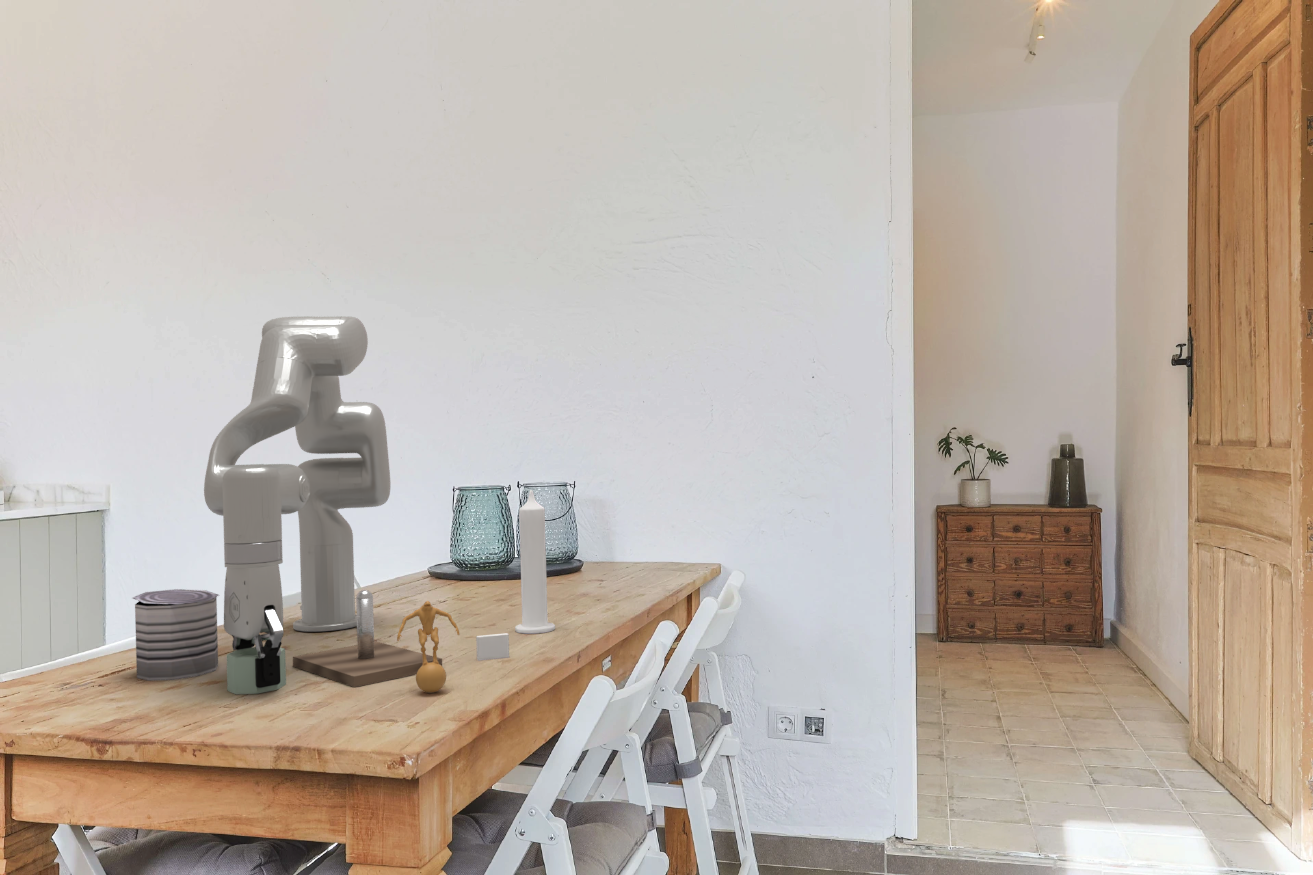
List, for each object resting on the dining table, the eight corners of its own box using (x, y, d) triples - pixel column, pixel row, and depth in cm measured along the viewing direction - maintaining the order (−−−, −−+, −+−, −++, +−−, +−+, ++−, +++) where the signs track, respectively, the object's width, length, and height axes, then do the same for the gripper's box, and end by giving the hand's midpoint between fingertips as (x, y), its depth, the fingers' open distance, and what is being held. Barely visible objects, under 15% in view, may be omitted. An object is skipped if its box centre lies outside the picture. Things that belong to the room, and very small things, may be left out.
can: (195, 660, 153) (193, 585, 153) (234, 668, 146) (232, 590, 146) (121, 675, 143) (119, 595, 143) (159, 684, 137) (157, 601, 137)
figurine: (401, 699, 124) (398, 607, 124) (396, 688, 130) (394, 601, 130) (465, 691, 127) (462, 602, 127) (457, 681, 133) (455, 596, 133)
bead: (221, 688, 133) (221, 652, 133) (271, 678, 138) (270, 644, 138) (241, 696, 128) (240, 659, 128) (292, 686, 133) (291, 650, 133)
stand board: (292, 666, 146) (292, 656, 146) (376, 650, 156) (376, 641, 156) (354, 687, 132) (353, 676, 132) (442, 668, 141) (442, 658, 141)
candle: (558, 625, 173) (554, 488, 173) (550, 633, 166) (546, 490, 166) (520, 626, 173) (516, 489, 174) (510, 634, 166) (506, 491, 167)
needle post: (355, 657, 144) (353, 590, 144) (369, 654, 145) (367, 588, 145) (362, 659, 142) (360, 591, 142) (377, 657, 144) (375, 589, 144)
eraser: (476, 659, 148) (476, 635, 148) (507, 656, 149) (507, 632, 149) (477, 661, 146) (477, 637, 146) (509, 657, 148) (508, 634, 148)
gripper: (203, 553, 137) (206, 676, 137) (250, 561, 125) (254, 697, 124) (256, 548, 142) (259, 667, 142) (306, 555, 130) (309, 686, 130)
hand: (256, 680), depth 133 cm, fingers closed on bead, 7 cm apart
